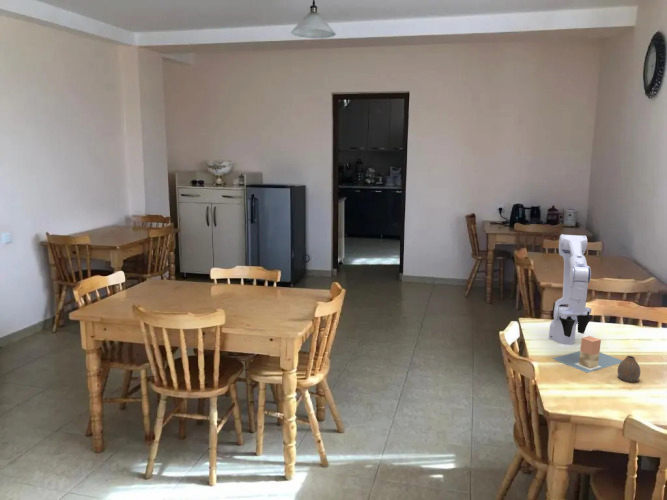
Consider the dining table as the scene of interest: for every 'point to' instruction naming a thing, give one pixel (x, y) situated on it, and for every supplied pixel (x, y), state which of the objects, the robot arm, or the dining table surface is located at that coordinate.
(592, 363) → the maple block
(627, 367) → the vase
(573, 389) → the dining table surface
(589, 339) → the terracotta block
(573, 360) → the build board
